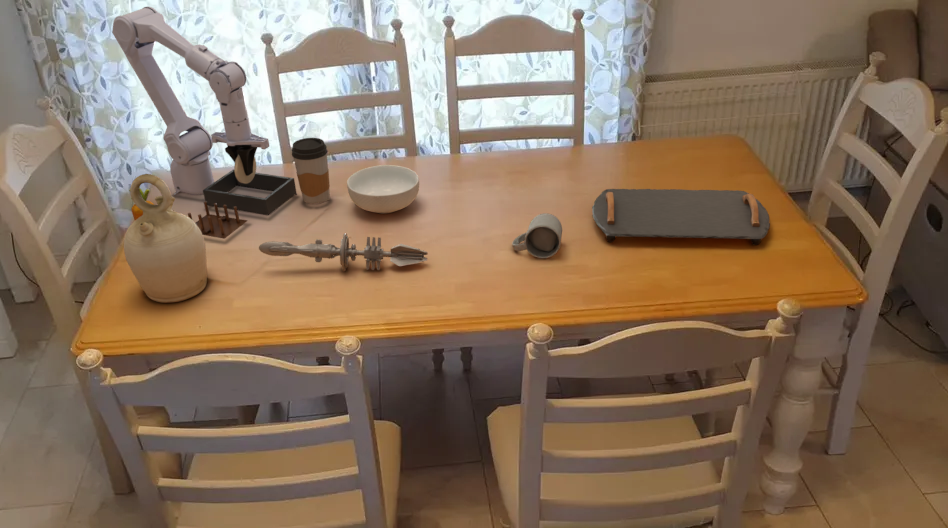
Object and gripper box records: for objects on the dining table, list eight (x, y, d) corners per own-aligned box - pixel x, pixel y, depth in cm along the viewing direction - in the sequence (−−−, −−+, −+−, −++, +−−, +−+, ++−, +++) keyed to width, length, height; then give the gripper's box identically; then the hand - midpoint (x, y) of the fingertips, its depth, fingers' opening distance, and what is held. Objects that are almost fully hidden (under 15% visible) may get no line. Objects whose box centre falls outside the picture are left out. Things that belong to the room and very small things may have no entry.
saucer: (237, 188, 200) (231, 158, 196) (255, 175, 206) (249, 145, 202) (241, 188, 200) (234, 158, 195) (258, 175, 206) (253, 146, 201)
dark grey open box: (207, 209, 204) (202, 190, 201) (237, 188, 214) (233, 169, 211) (269, 219, 199) (265, 199, 196) (297, 197, 208) (294, 178, 205)
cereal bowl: (337, 216, 199) (333, 188, 195) (370, 187, 211) (367, 161, 207) (402, 227, 193) (399, 198, 189) (432, 196, 206) (430, 169, 202)
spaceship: (262, 226, 178) (254, 230, 171) (428, 235, 181) (428, 239, 173) (262, 264, 180) (254, 269, 172) (426, 272, 182) (426, 277, 175)
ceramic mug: (562, 241, 185) (563, 209, 181) (560, 259, 179) (560, 227, 174) (514, 239, 187) (513, 208, 182) (510, 258, 180) (509, 225, 176)
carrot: (171, 246, 189) (154, 184, 181) (155, 256, 186) (138, 194, 177) (154, 242, 191) (136, 181, 183) (138, 252, 188) (120, 190, 179)
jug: (170, 263, 183) (139, 155, 169) (229, 275, 178) (203, 164, 164) (121, 299, 172) (84, 186, 157) (183, 313, 166) (151, 197, 152)
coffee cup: (337, 195, 208) (330, 136, 200) (330, 210, 202) (321, 150, 193) (304, 194, 209) (295, 136, 201) (295, 209, 202) (285, 150, 194)
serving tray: (592, 246, 183) (594, 220, 179) (590, 198, 202) (592, 174, 198) (776, 249, 179) (781, 223, 176) (757, 201, 198) (761, 176, 194)
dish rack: (184, 235, 193) (179, 215, 190) (208, 218, 200) (203, 198, 197) (225, 243, 190) (220, 222, 187) (248, 225, 197) (244, 204, 194)
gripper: (198, 121, 193) (211, 176, 201) (252, 128, 188) (263, 184, 196) (217, 110, 198) (228, 164, 206) (269, 116, 194) (279, 172, 202)
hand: (246, 173), depth 202 cm, fingers closed on saucer, 1 cm apart
